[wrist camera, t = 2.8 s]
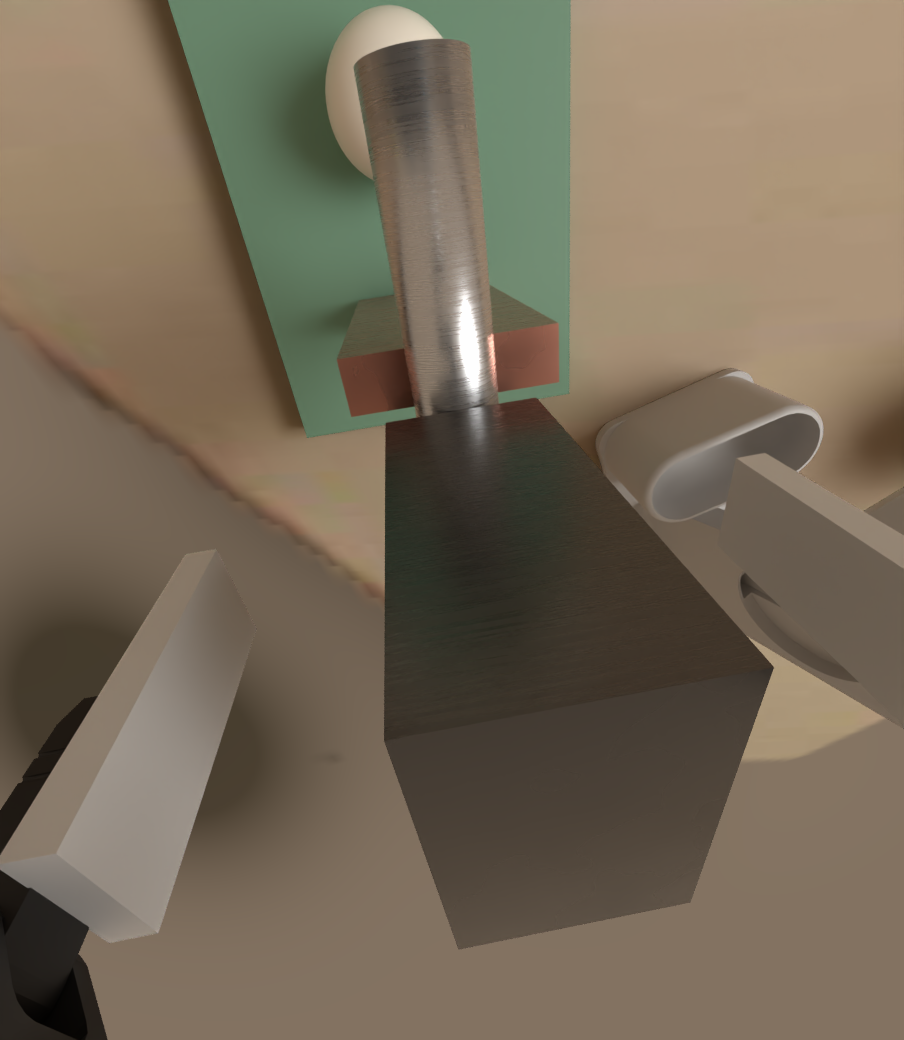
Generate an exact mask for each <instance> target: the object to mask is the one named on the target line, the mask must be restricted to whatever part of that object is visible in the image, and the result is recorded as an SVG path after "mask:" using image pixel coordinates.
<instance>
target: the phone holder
mask: <svg viewBox="0 0 904 1040" xmlns="http://www.w3.org/2000/svg"><path fill="white" fill-rule="evenodd" d="M822 437H823V422H822V419H821V417H820V416H819V414H818V413H817V412H816V411H815V410H814V409H813V408H811V407H809V406H807V405H804V404H802V403H800V402H797V401H795V400H793V399H790V398H788V397H785V396H783V395H781V394H778V393H776V392H774V391H771V390H769V389H767V388H764V387H762V386H759V385H757V384H755V383H754V382H753V379H752V377H751V376H750V375H749V374H748V373H746V372H743V371H741V370H738V369H734V368H730V369H725V370H722V371H720V372H718V373H716V374H714V375H711V376H709V377H707V378H705V379H702V380H700V381H698V382H696V383H693V384H691V385H689V386H687V387H685V388H682V389H680V390H678V391H676V392H673V393H671V394H669V395H667V396H665V397H662V398H660V399H658V400H656V401H653V402H651V403H649V404H647V405H644V406H642V407H640V408H638V409H636V410H633V411H631V412H629V413H627V414H624V415H622V416H620V417H618V418H616V419H613V420H611V421H609V422H608V423H606V424H605V425H604V426H603V427H602V428H601V429H600V431H599V432H598V435H597V437H596V449H597V453H598V456H599V460H600V463H601V467H602V470H603V473H604V475H605V476H606V477H607V478H608V480H609V481H610V482H611V483H612V484H613V485H614V486H615V487H616V489H617V490H618V491H619V492H620V493H621V494H622V495H623V497H624V498H625V499H626V500H627V501H628V502H629V503H630V505H631V506H632V507H633V508H634V509H635V510H636V511H637V512H638V514H639V515H640V516H641V517H642V518H643V519H644V520H645V522H646V523H647V524H648V525H649V526H650V527H651V528H652V529H653V531H654V532H655V533H656V534H657V535H658V536H659V537H660V539H661V540H662V541H663V542H664V543H665V544H666V545H667V546H668V548H669V549H670V550H671V551H672V552H673V553H674V554H675V556H676V557H677V558H678V559H679V560H680V561H681V562H682V564H683V565H684V566H685V567H686V568H687V569H688V570H689V571H690V573H691V574H692V575H693V576H694V577H695V578H696V579H697V581H698V582H699V583H700V584H701V585H702V586H703V587H704V588H705V590H706V591H707V592H708V593H709V594H710V595H711V596H712V598H713V599H714V600H715V601H716V602H717V603H718V604H719V606H720V607H721V608H722V609H723V610H724V611H725V612H726V613H727V615H728V616H729V617H730V618H731V619H732V620H733V621H734V623H735V624H736V625H737V626H738V627H739V628H740V629H741V630H742V632H743V633H744V634H745V635H746V636H748V637H750V638H751V639H753V640H755V641H757V642H758V643H760V644H762V645H763V646H765V647H767V648H768V649H770V650H772V651H773V652H775V653H777V654H778V655H780V656H782V657H783V658H785V659H787V660H789V661H790V662H792V663H794V664H795V665H797V666H799V667H800V668H802V669H804V670H805V671H807V672H809V673H810V674H812V675H814V676H816V677H817V678H819V679H821V680H822V681H824V682H826V683H827V684H829V685H831V686H832V687H834V688H836V689H837V690H839V691H841V692H842V693H844V694H846V695H848V696H849V697H851V698H853V699H854V700H856V701H858V702H859V703H861V704H863V705H864V706H866V707H868V708H869V709H871V710H873V711H875V712H876V713H878V714H880V715H881V716H883V717H885V718H886V719H888V720H890V721H891V722H893V723H895V724H897V725H898V726H900V727H902V728H903V729H904V725H903V724H902V723H901V722H900V721H899V720H898V719H897V718H896V717H894V716H893V715H892V714H891V713H890V712H889V711H888V710H887V709H886V708H885V707H884V706H883V705H882V704H881V703H880V702H879V701H878V700H877V699H876V698H875V697H874V696H873V695H872V694H871V693H870V692H869V691H867V690H866V689H865V688H864V687H863V686H862V685H861V684H860V683H859V682H858V681H857V680H856V679H855V678H854V677H853V676H852V675H851V674H850V673H849V672H848V671H847V670H846V669H845V668H844V667H843V666H841V665H840V664H839V663H838V662H837V661H836V660H835V659H834V658H833V657H832V656H831V655H830V654H829V653H828V652H827V651H826V650H825V649H824V648H823V647H822V646H821V645H820V644H819V643H818V642H817V641H816V640H814V639H813V638H812V637H811V636H810V635H809V634H808V633H807V632H806V631H805V630H804V629H803V628H802V627H801V626H800V625H799V624H798V623H797V622H796V621H795V620H794V619H793V618H792V617H791V616H790V615H788V614H787V613H786V612H785V611H784V610H783V609H782V608H781V607H780V606H779V605H778V604H777V603H776V602H775V601H774V600H773V599H772V598H771V597H770V596H769V595H768V594H767V593H766V592H765V591H764V590H763V589H761V588H760V587H759V586H758V585H757V584H756V583H755V582H754V581H753V580H752V579H751V578H750V577H749V576H748V575H747V574H746V573H745V572H744V571H743V570H742V569H741V568H740V567H739V566H738V565H737V564H735V563H734V562H733V561H732V560H731V559H730V558H729V557H728V556H727V555H726V554H725V553H724V552H723V551H722V550H721V549H720V548H719V547H718V546H717V544H718V539H719V535H720V530H721V525H722V521H723V516H724V511H725V507H726V502H727V497H728V493H729V488H730V483H731V478H732V474H733V469H734V464H735V460H736V458H739V457H745V456H750V455H756V454H762V453H766V454H768V455H769V456H771V457H773V458H774V459H776V460H778V461H780V462H781V463H783V464H785V465H786V466H788V467H790V468H791V469H793V470H795V471H796V472H799V471H800V470H801V469H802V468H804V467H805V466H806V465H807V464H808V463H809V461H810V460H811V459H812V458H813V456H814V455H815V453H816V452H817V450H818V448H819V446H820V444H821V441H822ZM864 512H865V513H867V514H869V515H870V516H872V517H874V518H875V519H877V520H879V521H880V522H882V523H884V524H885V525H887V526H889V527H890V528H892V529H894V530H895V531H897V532H899V533H901V534H902V535H904V487H903V488H901V489H899V490H898V491H896V492H894V493H893V494H891V495H889V496H888V497H886V498H884V499H883V500H881V501H879V502H878V503H876V504H874V505H873V506H871V507H869V508H868V509H866V510H864Z"/></svg>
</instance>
